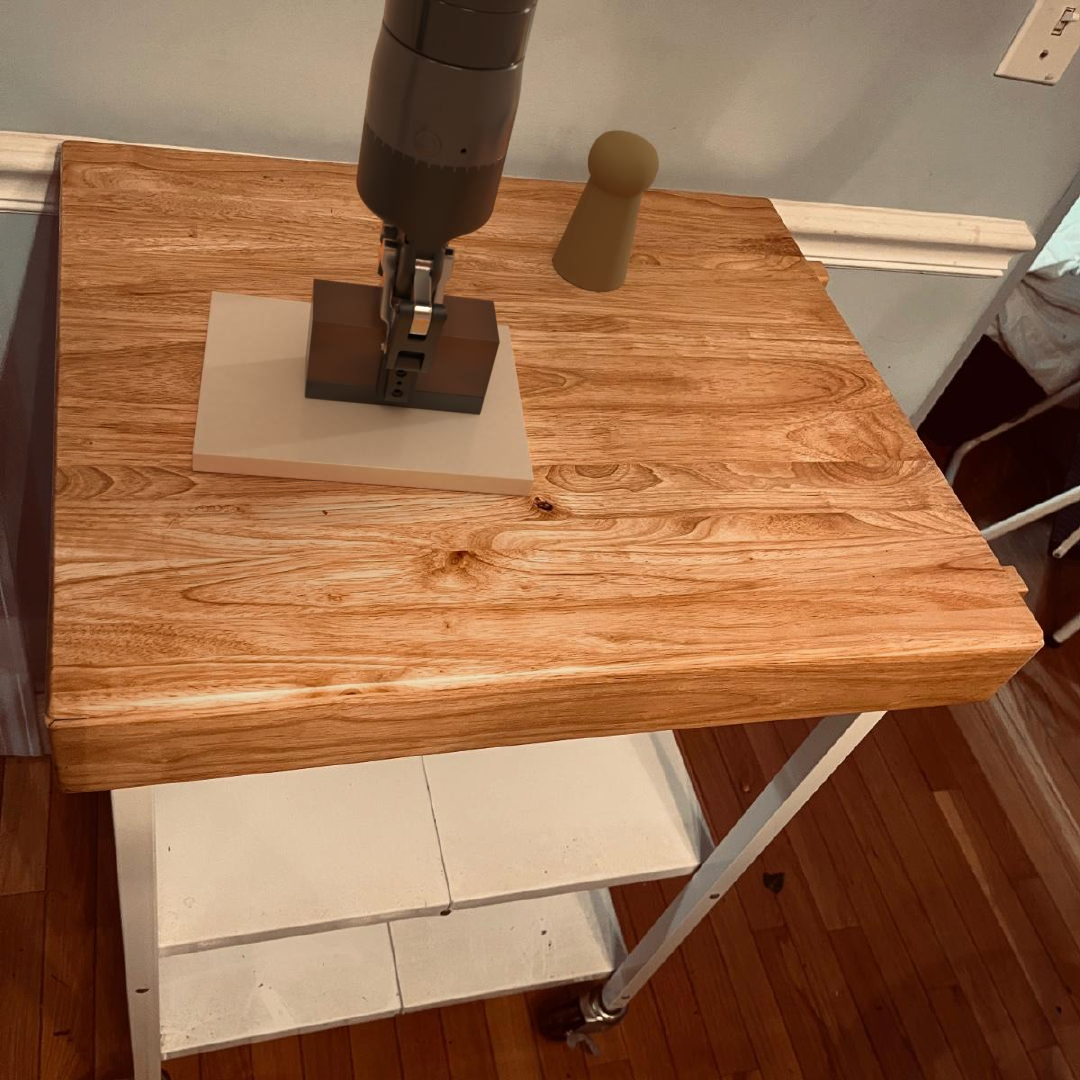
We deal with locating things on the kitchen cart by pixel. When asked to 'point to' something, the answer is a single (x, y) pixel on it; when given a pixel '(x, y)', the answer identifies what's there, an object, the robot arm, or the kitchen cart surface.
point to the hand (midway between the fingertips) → (392, 373)
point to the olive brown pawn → (607, 212)
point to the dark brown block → (355, 350)
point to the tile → (342, 415)
